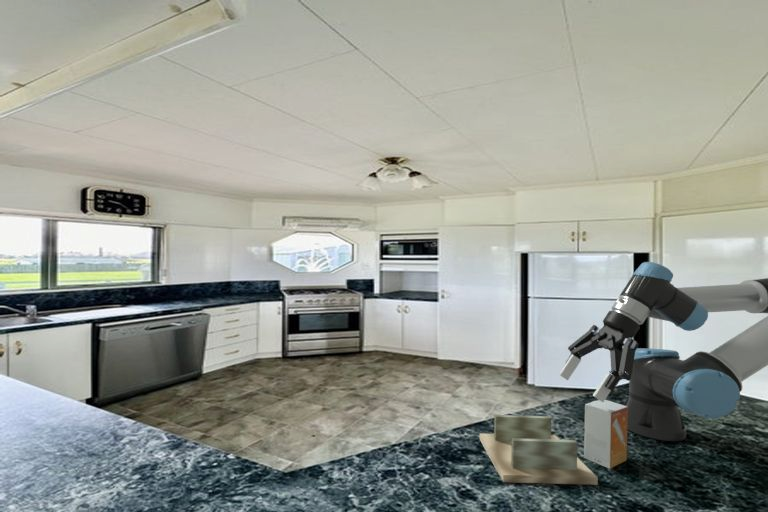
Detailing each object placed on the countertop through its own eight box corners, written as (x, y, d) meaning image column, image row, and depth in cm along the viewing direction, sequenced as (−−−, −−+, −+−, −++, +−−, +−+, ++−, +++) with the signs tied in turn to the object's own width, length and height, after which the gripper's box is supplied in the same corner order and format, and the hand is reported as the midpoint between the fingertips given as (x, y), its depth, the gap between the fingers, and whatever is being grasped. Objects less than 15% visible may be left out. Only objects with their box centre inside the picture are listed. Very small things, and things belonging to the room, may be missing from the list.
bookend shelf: (555, 441, 101) (555, 412, 101) (597, 484, 81) (598, 448, 81) (479, 439, 101) (480, 410, 101) (503, 482, 81) (503, 446, 81)
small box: (610, 470, 87) (611, 412, 88) (583, 458, 93) (583, 403, 93) (627, 460, 92) (628, 406, 92) (600, 449, 97) (601, 398, 97)
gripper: (582, 300, 109) (541, 363, 109) (655, 320, 85) (602, 401, 84) (601, 315, 110) (561, 376, 110) (679, 338, 86) (627, 418, 85)
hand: (579, 387), depth 97 cm, fingers open, 13 cm apart
